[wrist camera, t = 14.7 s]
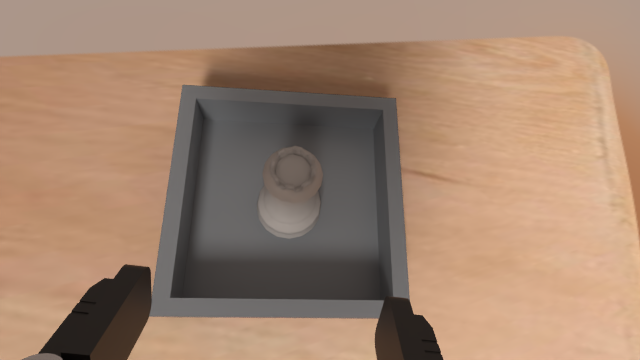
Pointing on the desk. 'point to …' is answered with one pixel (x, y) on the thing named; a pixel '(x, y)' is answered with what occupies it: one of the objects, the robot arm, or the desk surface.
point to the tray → (242, 217)
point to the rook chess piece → (290, 192)
